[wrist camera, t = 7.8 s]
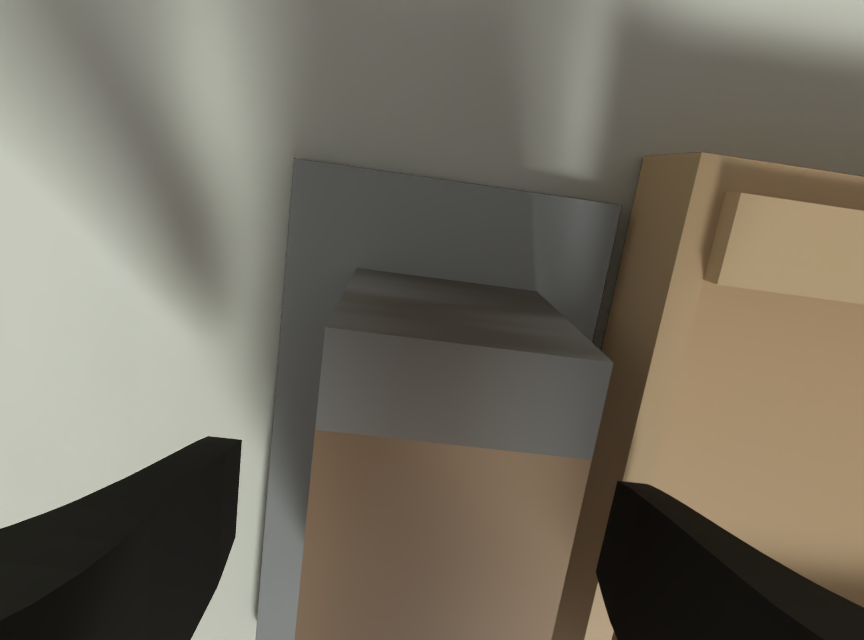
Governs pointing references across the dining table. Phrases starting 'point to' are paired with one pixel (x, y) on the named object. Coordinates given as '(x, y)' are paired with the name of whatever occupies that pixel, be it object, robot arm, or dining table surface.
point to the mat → (414, 255)
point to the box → (446, 462)
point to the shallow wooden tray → (735, 369)
